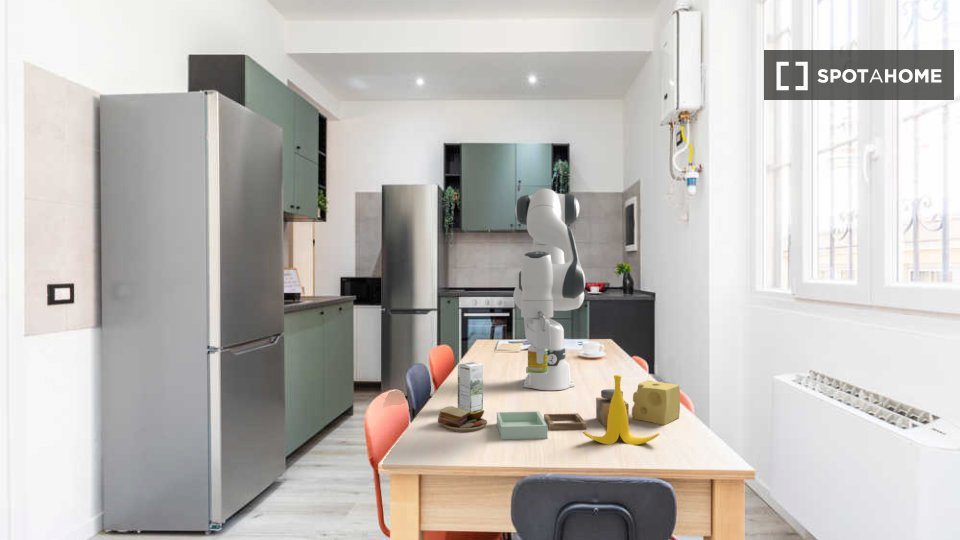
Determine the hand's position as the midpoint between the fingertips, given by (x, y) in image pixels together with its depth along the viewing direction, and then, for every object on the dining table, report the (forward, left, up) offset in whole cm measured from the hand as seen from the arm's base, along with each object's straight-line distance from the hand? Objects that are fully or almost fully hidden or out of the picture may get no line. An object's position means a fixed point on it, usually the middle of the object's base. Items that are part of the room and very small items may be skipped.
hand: (537, 361), depth 149 cm
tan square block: (-5, +22, -19) cm, 29 cm away
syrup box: (-21, -18, -19) cm, 33 cm away
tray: (+1, -5, -19) cm, 19 cm away
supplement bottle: (0, 0, -4) cm, 4 cm away
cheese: (-8, +36, -19) cm, 42 cm away
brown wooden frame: (-4, +8, -19) cm, 21 cm away
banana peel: (+11, +21, -19) cm, 31 cm away
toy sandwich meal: (-4, -21, -19) cm, 28 cm away
